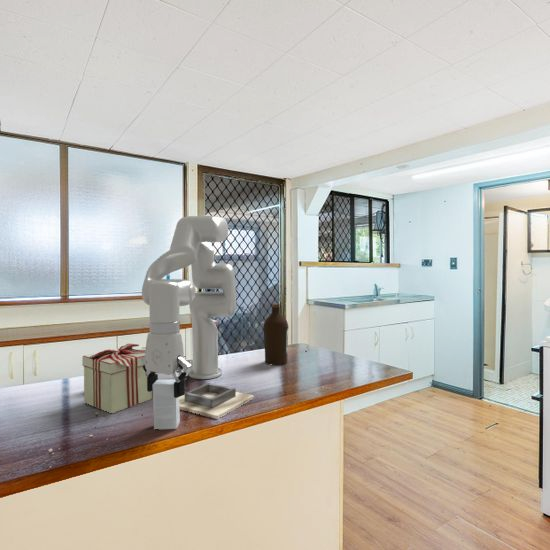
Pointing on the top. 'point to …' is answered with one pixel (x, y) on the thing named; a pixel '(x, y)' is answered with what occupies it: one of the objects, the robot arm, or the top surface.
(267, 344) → the olive oil
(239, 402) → the holder board
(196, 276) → the robot arm
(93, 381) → the gift box
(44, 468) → the top surface
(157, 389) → the skincare box
